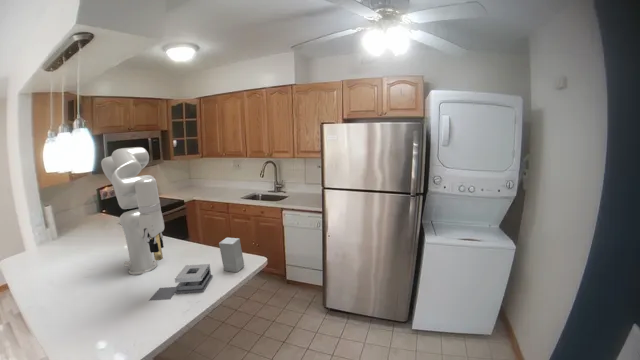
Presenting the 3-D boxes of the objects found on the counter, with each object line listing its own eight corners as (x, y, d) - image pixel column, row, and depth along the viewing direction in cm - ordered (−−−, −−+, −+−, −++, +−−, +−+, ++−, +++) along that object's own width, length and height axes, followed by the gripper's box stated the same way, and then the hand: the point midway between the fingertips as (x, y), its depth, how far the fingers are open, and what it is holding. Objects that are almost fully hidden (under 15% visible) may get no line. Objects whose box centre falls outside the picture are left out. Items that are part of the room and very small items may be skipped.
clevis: (175, 294, 117) (173, 279, 115) (187, 279, 129) (185, 264, 127) (203, 292, 117) (201, 277, 116) (212, 277, 129) (211, 263, 127)
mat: (148, 301, 113) (148, 300, 113) (159, 288, 122) (159, 287, 122) (170, 300, 113) (170, 299, 113) (180, 287, 122) (180, 286, 122)
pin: (152, 261, 112) (147, 234, 110) (156, 257, 116) (152, 230, 113) (160, 260, 113) (156, 233, 110) (165, 256, 116) (160, 230, 113)
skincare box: (244, 266, 138) (241, 237, 135) (236, 273, 132) (232, 243, 128) (230, 264, 141) (227, 236, 138) (221, 271, 134) (218, 241, 131)
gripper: (151, 203, 117) (158, 242, 121) (127, 215, 101) (136, 260, 105) (169, 202, 118) (175, 241, 121) (147, 214, 102) (155, 259, 105)
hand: (157, 249), depth 113 cm, fingers closed on pin, 3 cm apart
